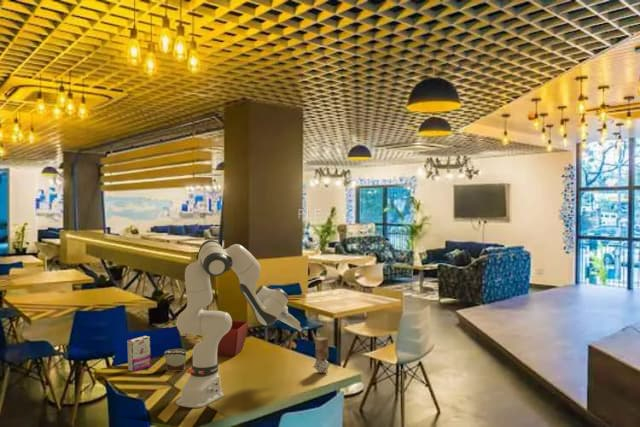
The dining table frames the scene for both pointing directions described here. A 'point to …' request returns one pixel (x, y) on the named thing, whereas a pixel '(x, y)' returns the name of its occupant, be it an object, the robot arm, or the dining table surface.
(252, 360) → the dining table surface
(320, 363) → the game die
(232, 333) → the plant pot
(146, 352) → the candy bar box
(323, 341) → the walnut block
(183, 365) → the food container
